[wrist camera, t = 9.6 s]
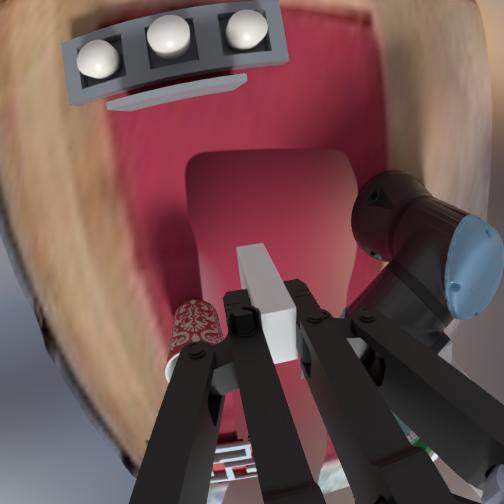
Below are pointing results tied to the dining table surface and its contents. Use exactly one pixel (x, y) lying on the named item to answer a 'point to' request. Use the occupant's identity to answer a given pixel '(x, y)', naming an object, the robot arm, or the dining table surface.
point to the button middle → (169, 37)
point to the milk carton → (415, 438)
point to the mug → (192, 329)
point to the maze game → (233, 461)
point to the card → (177, 92)
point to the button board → (190, 64)
